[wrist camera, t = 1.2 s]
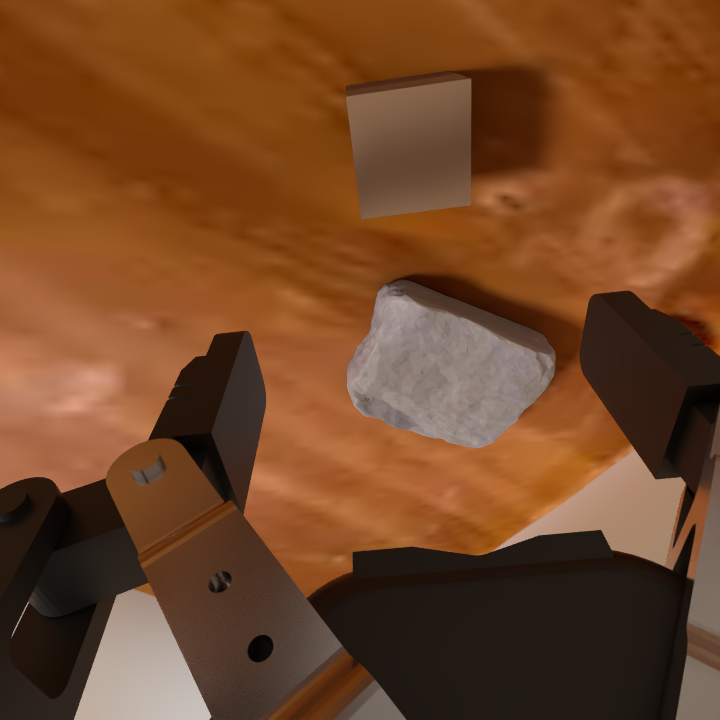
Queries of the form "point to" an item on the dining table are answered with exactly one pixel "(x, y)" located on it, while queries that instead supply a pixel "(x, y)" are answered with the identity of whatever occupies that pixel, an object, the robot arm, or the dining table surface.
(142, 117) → the dining table surface
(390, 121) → the walnut cube
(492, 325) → the stone block
